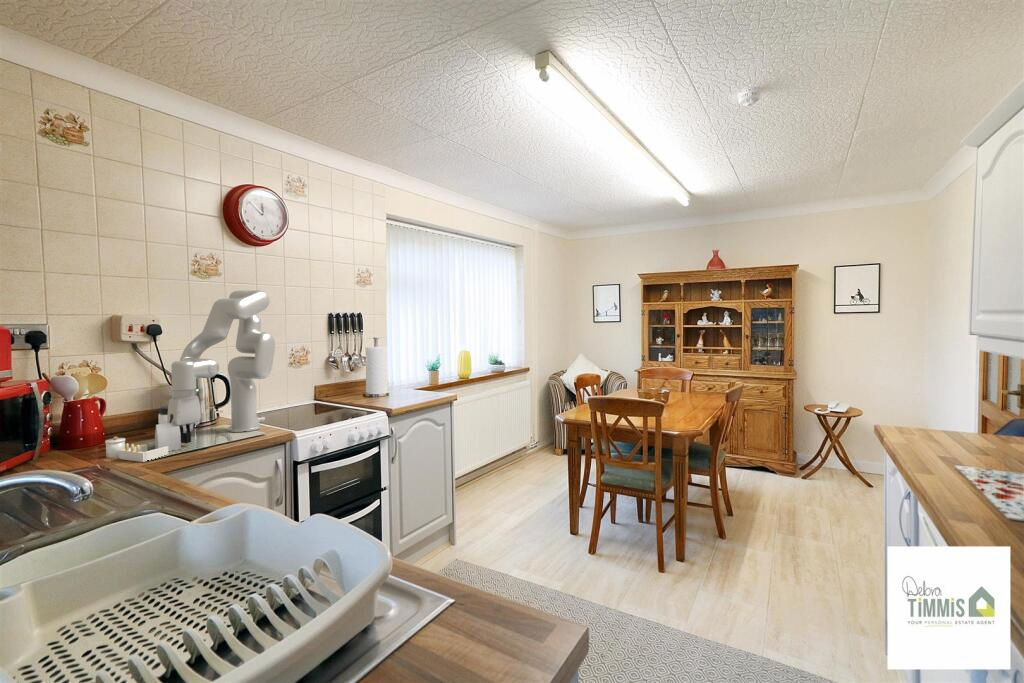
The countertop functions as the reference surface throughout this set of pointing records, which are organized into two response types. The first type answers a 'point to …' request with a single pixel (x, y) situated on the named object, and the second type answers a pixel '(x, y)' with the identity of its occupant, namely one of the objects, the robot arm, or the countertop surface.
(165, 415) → the jar
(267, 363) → the robot arm
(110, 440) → the sugar pot
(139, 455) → the header block
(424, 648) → the countertop surface
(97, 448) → the countertop surface
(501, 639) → the countertop surface
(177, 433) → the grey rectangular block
